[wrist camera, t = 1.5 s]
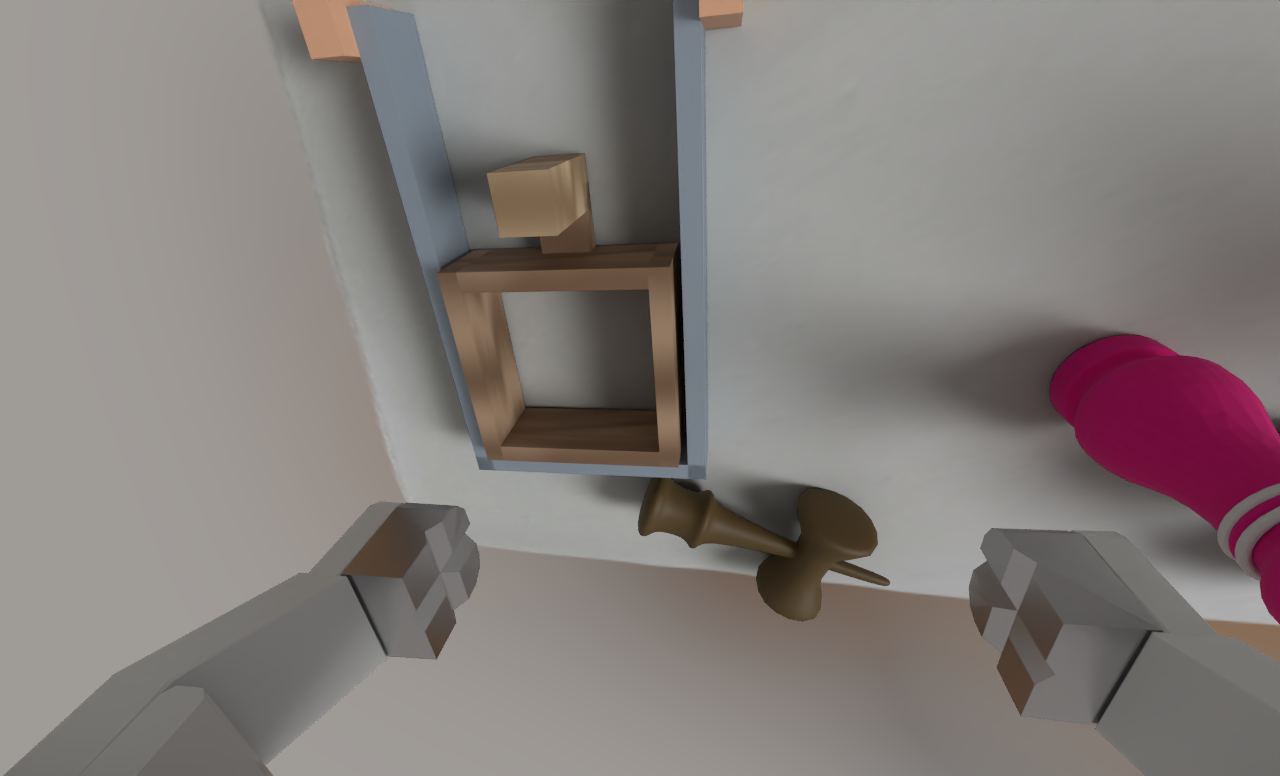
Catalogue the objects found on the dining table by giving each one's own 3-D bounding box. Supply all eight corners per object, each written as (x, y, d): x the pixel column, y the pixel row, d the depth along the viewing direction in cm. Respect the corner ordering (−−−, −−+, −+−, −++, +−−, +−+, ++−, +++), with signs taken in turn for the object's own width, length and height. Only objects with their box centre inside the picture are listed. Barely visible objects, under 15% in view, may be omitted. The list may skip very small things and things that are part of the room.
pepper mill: (1027, 429, 34) (1325, 769, 17) (1055, 329, 31) (1465, 632, 13) (1155, 426, 33) (1621, 795, 16) (1199, 321, 29) (1864, 649, 12)
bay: (361, 12, 28) (290, -3, 23) (742, -36, 24) (744, -64, 20) (479, 437, 42) (449, 478, 37) (732, 445, 38) (732, 492, 34)
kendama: (667, 430, 39) (914, 513, 39) (635, 512, 45) (852, 587, 44) (654, 481, 34) (937, 578, 34) (620, 567, 40) (865, 652, 39)
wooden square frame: (453, 161, 31) (386, 179, 25) (674, 147, 28) (659, 162, 22) (513, 420, 40) (475, 478, 34) (684, 424, 38) (675, 487, 32)
